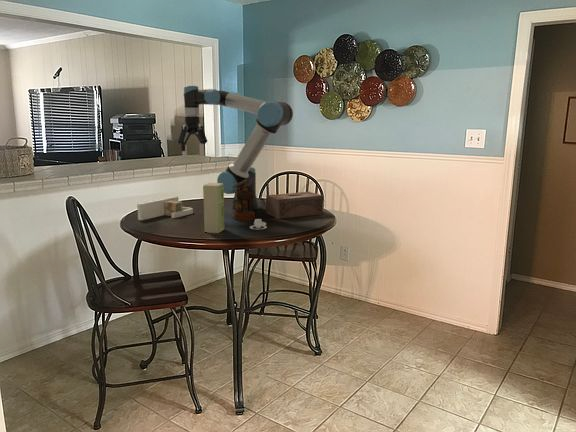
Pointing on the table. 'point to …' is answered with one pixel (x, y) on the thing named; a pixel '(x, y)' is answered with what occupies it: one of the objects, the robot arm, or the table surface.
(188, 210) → the wall board
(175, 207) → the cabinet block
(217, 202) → the pale green tall block
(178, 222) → the table surface
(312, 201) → the tissue box cover
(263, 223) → the teacup and saucer
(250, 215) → the brown upright irregular piece
